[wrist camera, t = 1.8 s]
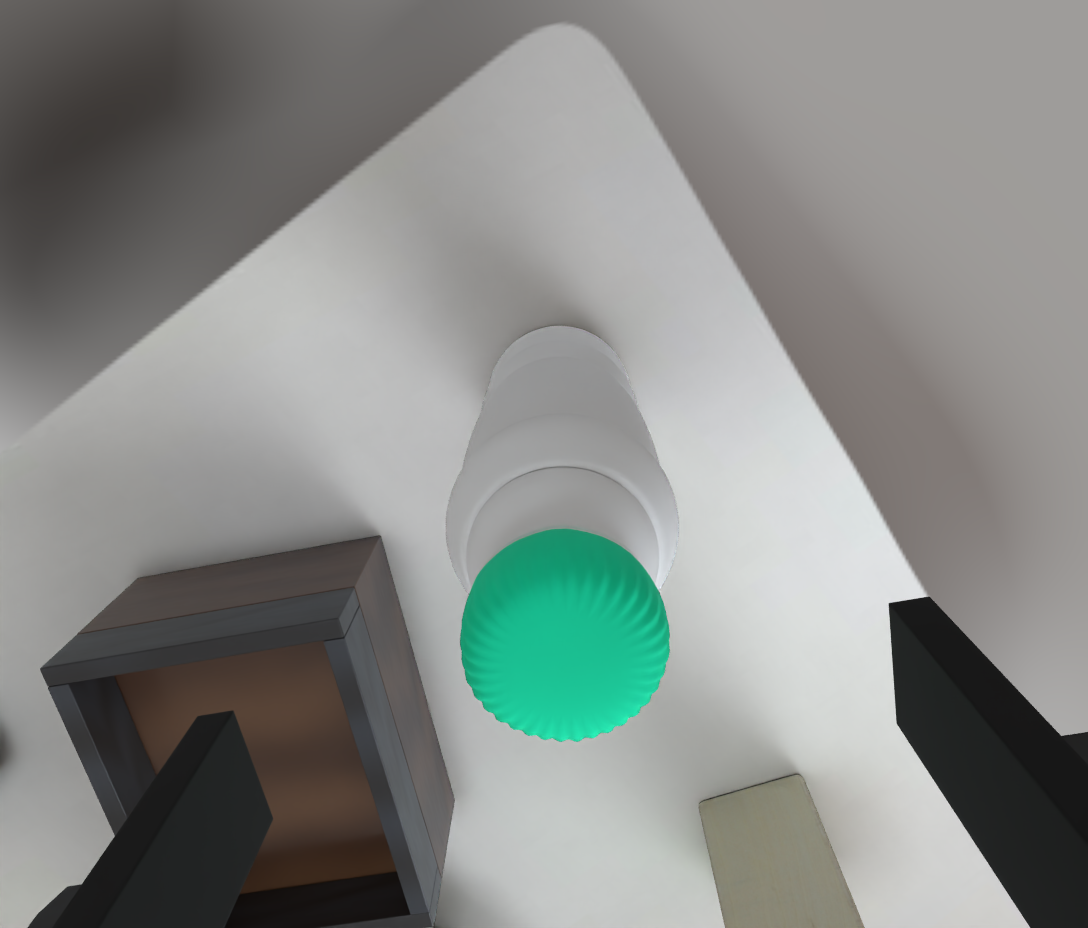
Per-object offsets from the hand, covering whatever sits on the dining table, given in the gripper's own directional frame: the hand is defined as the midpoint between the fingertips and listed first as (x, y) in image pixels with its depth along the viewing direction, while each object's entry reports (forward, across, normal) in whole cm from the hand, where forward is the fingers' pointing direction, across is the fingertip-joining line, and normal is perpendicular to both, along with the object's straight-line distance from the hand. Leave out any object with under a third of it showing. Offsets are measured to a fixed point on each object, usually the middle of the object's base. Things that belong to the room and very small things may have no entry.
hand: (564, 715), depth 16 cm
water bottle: (+27, 0, 0) cm, 27 cm away
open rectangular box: (+27, -18, -15) cm, 35 cm away
